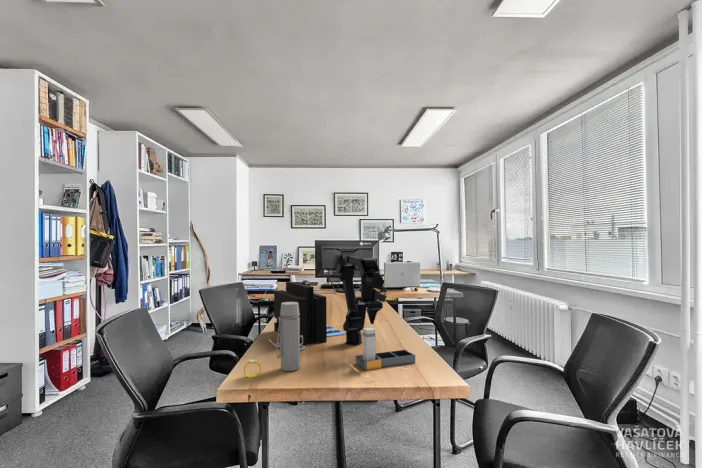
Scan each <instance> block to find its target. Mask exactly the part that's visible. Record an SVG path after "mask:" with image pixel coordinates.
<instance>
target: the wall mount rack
mask: <svg viewBox="0 0 702 468" xmlns="http://www.w3.org/2000/svg"><path fill="white" fill-rule="evenodd" d="M300 337H302V343H301V344H300V351H302V350H304V349H306V345H305V346H302V344H303V336H300ZM268 342H269V343H271V344H272V345H273V346H274V347H275V348H277V343H275V342H273V341H272V340H271V339H268ZM278 349H280V342H278Z"/></svg>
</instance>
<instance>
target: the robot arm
mask: <svg viewBox="0 0 702 468" xmlns="http://www.w3.org/2000/svg"><path fill="white" fill-rule="evenodd" d="M356 269H358V270H359V271H360V273H359V276H360V287H359V291H360V296H359V295H358V296H356V293H355V287H354V282H353V279H354V277H355V271H356ZM336 274H337V277H338V279H339V280H340V281H341V282H342V285H343V290H344V297H345V301H346V302H345V303H346V308H347V312H346V315H345V321H344V323H343V325H342V329H343V332H345V333H346V334H345V339H346V340H345V342H344V345H351V346H359V345H360V344H363V333H362V331H363V328H365V324H366V315H367V316H368V320H369V322H370V325H374V323H375V321H376V318H377V317H376V316H377V314H378V312H379V311H381V310H382V309H384V303H385V302H386V300H387V297H388V296H387V295H385V294H382V293H381V291H379V290H380V289H382V288H383V286H384V285H385V280H384V277H383V276H382V275H381V271H380V267H379V265H378V263H377V260H376V258H375V257H361V256H357V255H355V254H346V255H345V256H344V257H343V259H342V260H339V262H338V264H337V266H336ZM366 313H367V314H366Z"/></svg>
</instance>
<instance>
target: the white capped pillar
mask: <svg viewBox="0 0 702 468" xmlns="http://www.w3.org/2000/svg"><path fill="white" fill-rule="evenodd" d="M375 353H376V329H375V328H373V327H364V328H363V330H362V355H363V360H364V361H370V360H375Z"/></svg>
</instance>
